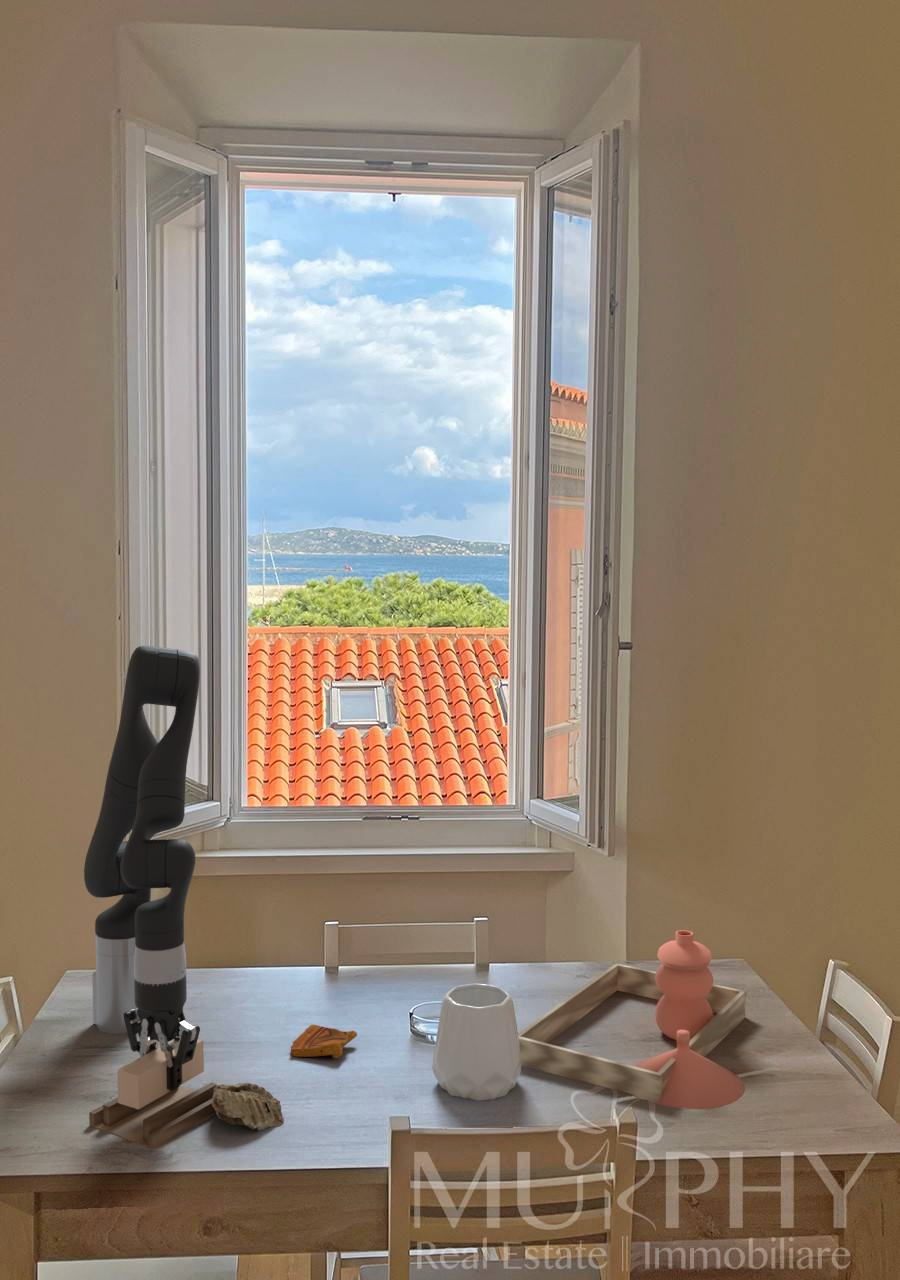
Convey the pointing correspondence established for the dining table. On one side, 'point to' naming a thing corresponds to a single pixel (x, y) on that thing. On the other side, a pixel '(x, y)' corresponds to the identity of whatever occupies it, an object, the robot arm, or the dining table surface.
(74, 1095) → the dining table surface
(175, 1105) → the tray
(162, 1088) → the peach rectangular block
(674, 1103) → the ceramic vessels
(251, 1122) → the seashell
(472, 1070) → the vase
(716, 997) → the vessel tray frame
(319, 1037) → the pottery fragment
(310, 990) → the dining table surface
